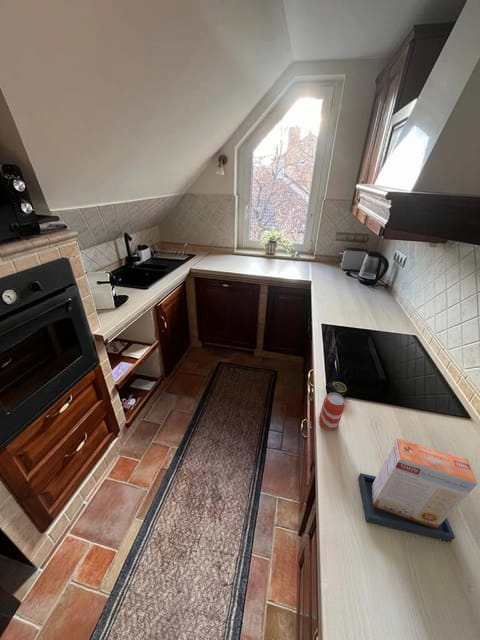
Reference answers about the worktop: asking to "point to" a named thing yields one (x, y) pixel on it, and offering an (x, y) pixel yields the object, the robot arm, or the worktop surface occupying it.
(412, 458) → the cracker box
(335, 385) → the tape measure
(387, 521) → the tray
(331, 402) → the beverage can
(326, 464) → the worktop surface
